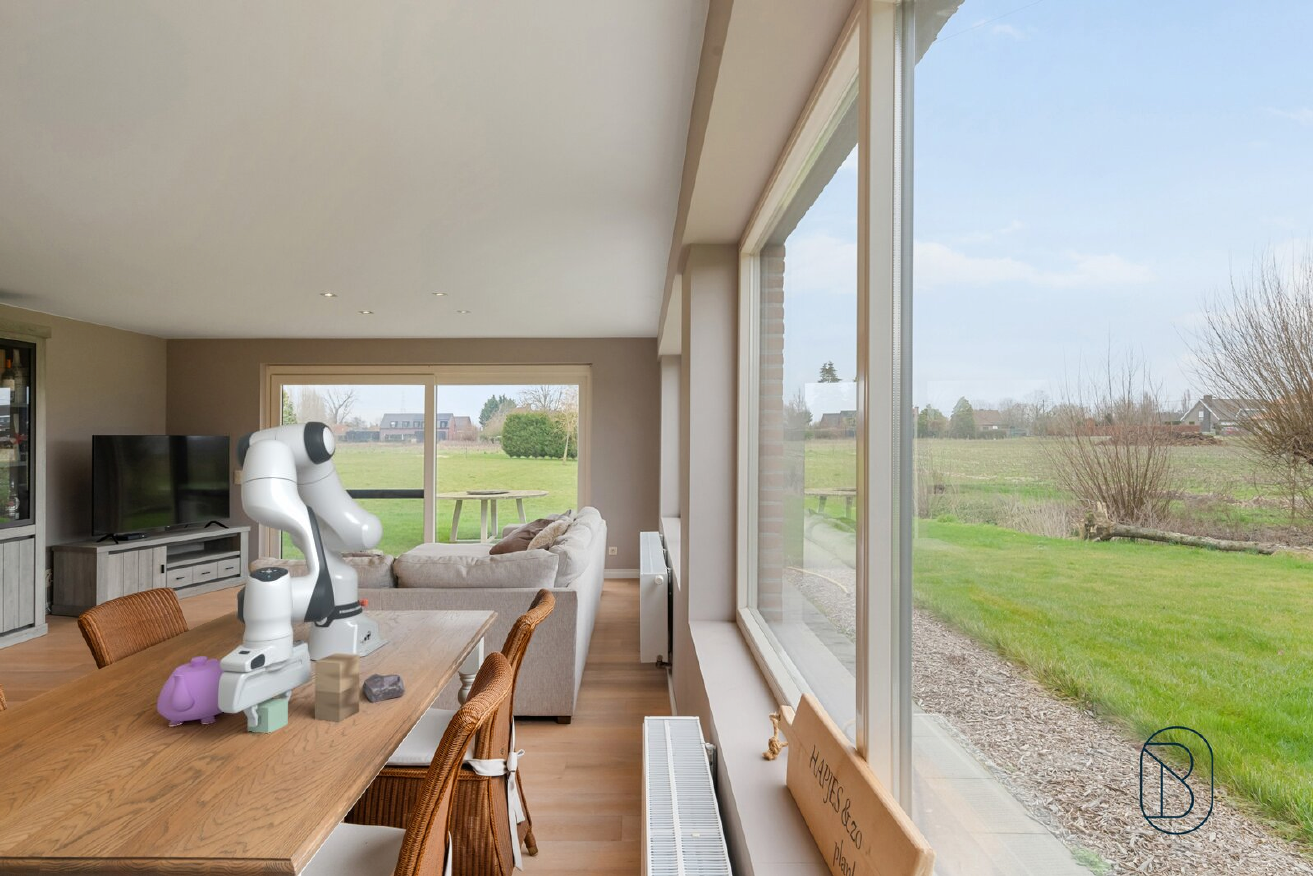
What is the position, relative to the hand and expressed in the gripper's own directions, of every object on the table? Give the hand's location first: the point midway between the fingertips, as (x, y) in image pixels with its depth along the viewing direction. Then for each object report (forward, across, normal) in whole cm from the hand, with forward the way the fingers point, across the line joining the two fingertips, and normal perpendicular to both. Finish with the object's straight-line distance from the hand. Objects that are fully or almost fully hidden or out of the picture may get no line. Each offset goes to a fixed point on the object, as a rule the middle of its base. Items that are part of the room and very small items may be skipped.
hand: (267, 719), depth 140 cm
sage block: (+2, 0, 0) cm, 2 cm away
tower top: (-4, -9, +9) cm, 13 cm away
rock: (+2, -22, +10) cm, 25 cm away
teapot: (+2, 0, -18) cm, 18 cm away
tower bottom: (+2, -9, +9) cm, 13 cm away
